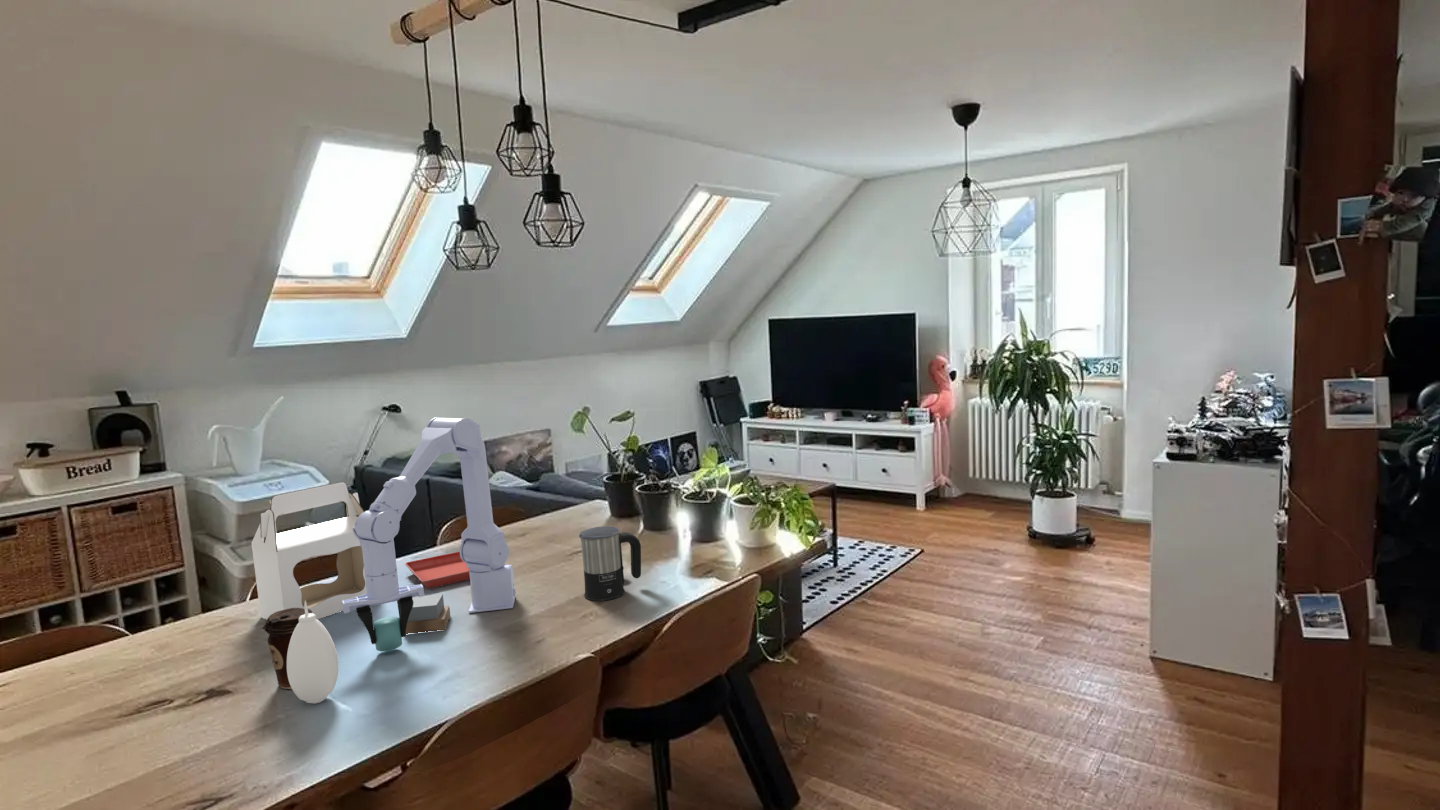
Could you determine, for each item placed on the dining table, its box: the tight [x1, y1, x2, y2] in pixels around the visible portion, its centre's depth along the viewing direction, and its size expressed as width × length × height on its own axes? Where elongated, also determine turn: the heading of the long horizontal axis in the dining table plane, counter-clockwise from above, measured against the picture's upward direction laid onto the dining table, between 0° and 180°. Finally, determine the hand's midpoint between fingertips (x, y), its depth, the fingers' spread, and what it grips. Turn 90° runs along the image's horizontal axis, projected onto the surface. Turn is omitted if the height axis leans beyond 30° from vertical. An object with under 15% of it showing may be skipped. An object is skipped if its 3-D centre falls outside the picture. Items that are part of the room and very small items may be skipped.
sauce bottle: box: [287, 601, 339, 705], centre depth 136 cm, size 8×8×18 cm
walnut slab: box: [406, 604, 451, 634], centre depth 168 cm, size 8×8×3 cm
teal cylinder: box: [373, 616, 403, 652], centre depth 155 cm, size 5×5×5 cm
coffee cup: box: [262, 608, 317, 690], centre depth 144 cm, size 9×8×13 cm
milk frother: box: [578, 525, 642, 602], centre depth 185 cm, size 14×16×15 cm
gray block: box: [408, 593, 445, 622], centre depth 168 cm, size 6×6×3 cm
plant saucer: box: [404, 551, 470, 589], centre depth 201 cm, size 18×18×3 cm
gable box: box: [251, 481, 367, 621], centre depth 181 cm, size 22×13×28 cm, turn 141°
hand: (388, 638), depth 155 cm, fingers closed on teal cylinder, 5 cm apart
